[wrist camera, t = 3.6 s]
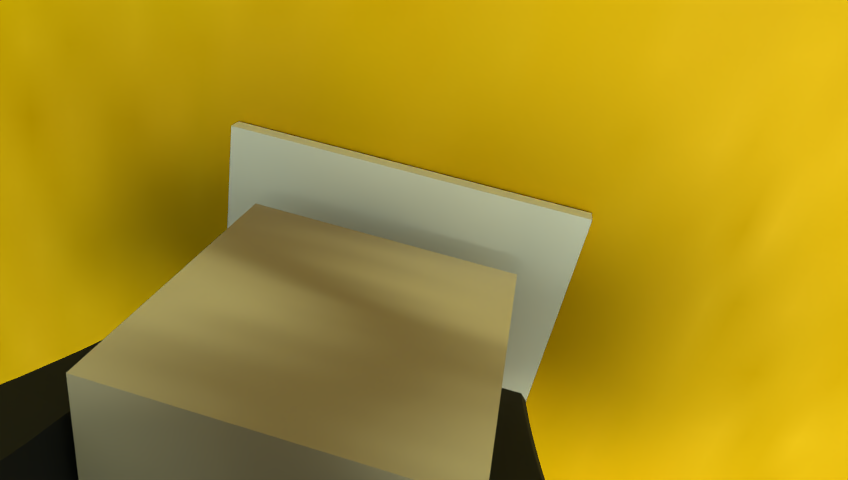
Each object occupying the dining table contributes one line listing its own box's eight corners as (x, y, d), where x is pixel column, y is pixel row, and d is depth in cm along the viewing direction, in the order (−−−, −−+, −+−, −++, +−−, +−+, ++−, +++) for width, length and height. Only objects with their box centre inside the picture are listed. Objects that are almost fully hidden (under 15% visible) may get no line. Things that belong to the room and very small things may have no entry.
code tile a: (226, 386, 15) (220, 396, 15) (238, 121, 12) (230, 126, 12) (498, 469, 15) (497, 480, 14) (591, 213, 11) (591, 221, 11)
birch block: (242, 399, 14) (94, 617, 10) (255, 203, 11) (66, 373, 7) (457, 464, 13) (405, 724, 9) (517, 274, 11) (486, 501, 7)
